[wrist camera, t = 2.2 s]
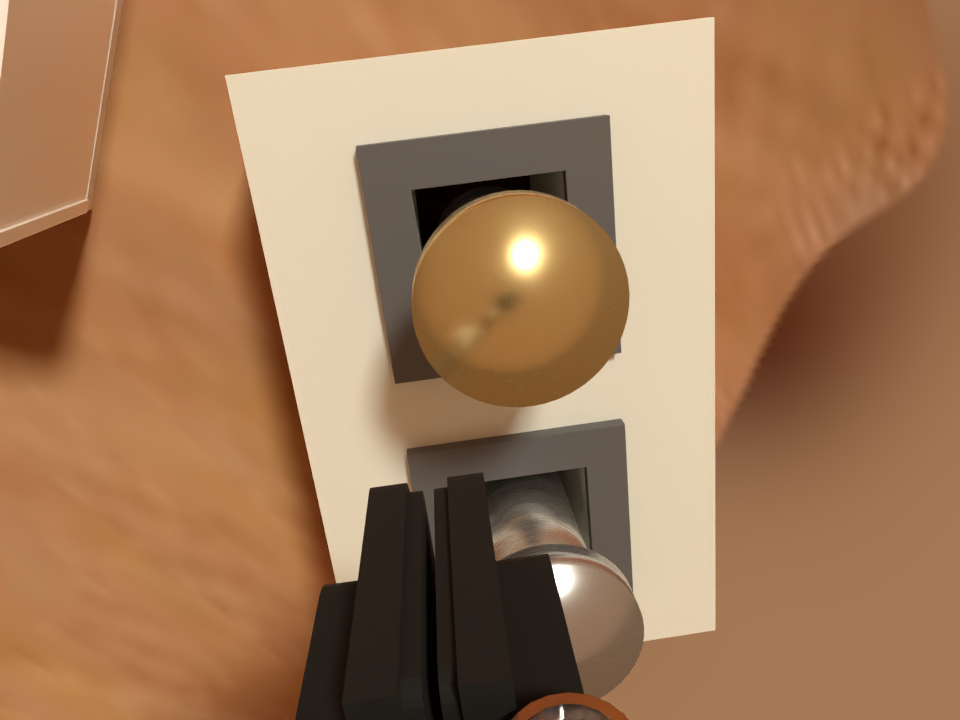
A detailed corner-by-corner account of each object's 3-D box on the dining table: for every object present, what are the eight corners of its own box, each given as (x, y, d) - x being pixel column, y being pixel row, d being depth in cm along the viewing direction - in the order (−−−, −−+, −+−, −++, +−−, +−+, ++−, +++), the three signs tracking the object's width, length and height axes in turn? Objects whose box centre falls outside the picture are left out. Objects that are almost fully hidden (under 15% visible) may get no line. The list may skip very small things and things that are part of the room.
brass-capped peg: (570, 303, 26) (633, 391, 19) (423, 323, 26) (428, 420, 19) (559, 151, 24) (624, 182, 17) (400, 171, 24) (395, 211, 17)
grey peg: (588, 543, 30) (647, 698, 22) (458, 563, 30) (474, 725, 22) (579, 426, 28) (640, 552, 21) (441, 446, 28) (452, 580, 20)
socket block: (656, 524, 36) (720, 638, 29) (368, 566, 36) (357, 695, 28) (639, 32, 29) (720, 15, 21) (271, 76, 28) (220, 74, 21)
